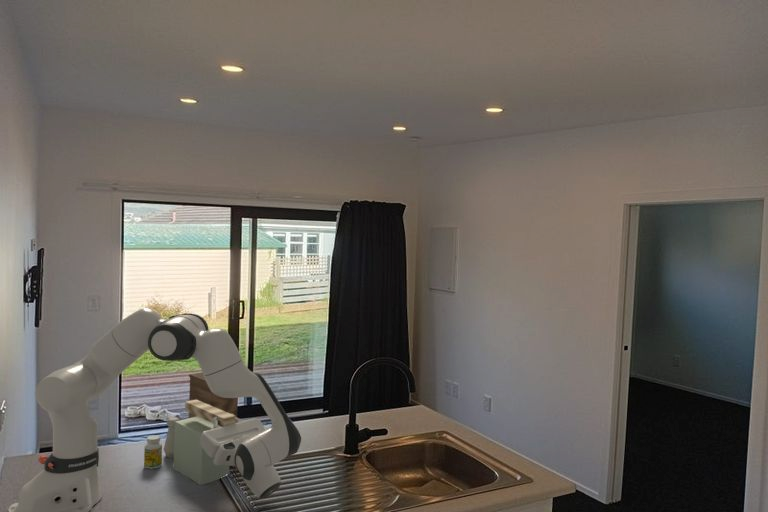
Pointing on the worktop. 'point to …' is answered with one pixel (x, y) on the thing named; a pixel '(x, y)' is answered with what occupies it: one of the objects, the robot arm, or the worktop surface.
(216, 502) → the worktop surface
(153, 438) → the supplement bottle
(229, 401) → the walnut block
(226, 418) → the beech bar
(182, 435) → the pale green block
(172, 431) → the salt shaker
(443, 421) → the worktop surface
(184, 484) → the worktop surface
